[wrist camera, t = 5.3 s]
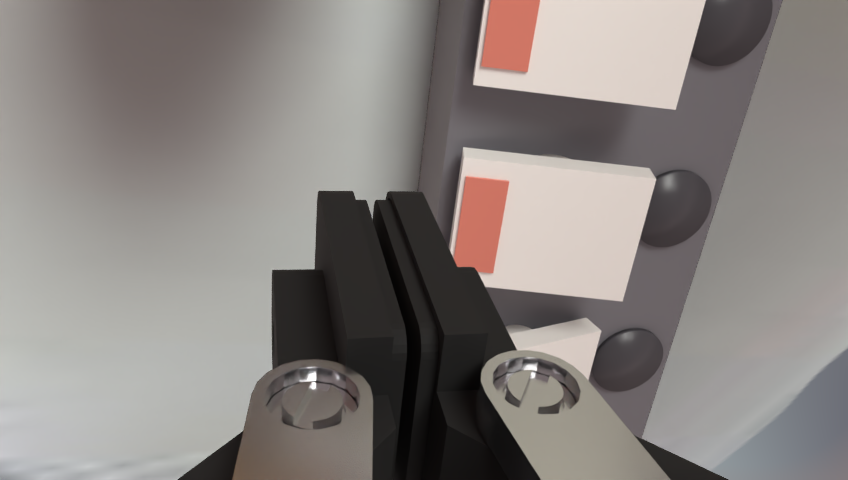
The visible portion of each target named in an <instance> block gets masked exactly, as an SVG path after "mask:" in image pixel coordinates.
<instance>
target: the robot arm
mask: <svg viewBox="0 0 848 480" xmlns="http://www.w3.org/2000/svg"><path fill="white" fill-rule="evenodd" d="M272 364H273V370H271V371H269V372H267V373H266V374H265V375H264V376H263V377H262V378H261V379H260V380H259V381H258V382H257V384H256V386H255V388H254V390H253V392H252V395H251V399H250V404H249V408H248V412H247V417H246V421H245V426H244V430H243V432H241V433H240V434H239V435H237V436H236V437H235V438H233V439H232V440H230V441H229V442H228V443H226V444H225V445H224V446H222V447H221V448H220V449H218V450H217V451H216V452H214V453H213V454H212V455H210V456H209V457H207V458H206V459H205V460H203V461H202V462H201V463H199V464H198V465H197V466H195V467H194V468H193V469H191V470H190V471H189V472H187V473H186V474H184V475H183V476H182V477H180V478H179V479H178V480H728V479H726V478H724V477H722V476H720V475H717V474H715V473H713V472H711V471H709V470H707V469H705V468H703V467H700V466H698V465H696V464H694V463H692V462H690V461H688V460H686V459H683V458H681V457H679V456H677V455H675V454H673V453H671V452H669V451H667V450H664V449H662V448H660V447H658V446H656V445H654V444H652V443H650V442H647V441H645V440H643V439H641V438H639V437H637V436H635V435H633V434H632V433H631V431H630V430H629V429H628V428H627V427H626V425H625V424H624V423H623V422H622V421H621V419H620V418H619V417H618V416H617V415H616V413H615V412H614V411H613V410H612V408H611V407H610V406H609V405H608V404H607V402H606V401H605V400H604V399H603V398H602V396H601V395H600V394H599V393H598V392H597V390H596V389H595V388H594V387H593V386H592V384H591V383H590V382H589V381H588V380H587V378H586V377H585V376H584V375H583V374H582V373H581V372H580V371H579V370H577V369H576V368H575V367H574V366H573V365H571V364H569V363H567V362H566V361H564V360H562V359H560V358H558V357H555V356H552V355H549V354H546V353H543V352H537V351H530V350H517V349H516V347H515V345H514V343H513V341H512V339H511V337H510V335H509V333H508V331H507V329H506V327H505V325H504V323H503V321H502V319H501V317H500V315H499V313H498V311H497V309H496V307H495V305H494V303H493V301H492V299H491V297H490V295H489V293H488V291H487V289H486V287H485V285H484V283H483V281H482V279H481V277H480V275H479V274H478V272H477V270H476V269H475V268H474V267H457V265H456V263H455V260H454V258H453V256H452V254H451V252H450V250H449V248H448V245H447V243H446V241H445V239H444V237H443V235H442V233H441V230H440V228H439V226H438V224H437V222H436V220H435V217H434V215H433V213H432V211H431V209H430V207H429V205H428V202H427V200H426V198H425V196H424V194H423V193H422V192H396V191H390V192H388V193H387V196H386V200H376V201H375V204H374V211H373V220H372V217H371V214H370V210H369V207H368V204H367V201H366V200H356V199H355V196H354V193H353V191H319V192H318V198H317V221H316V249H315V269H312V270H272Z"/></svg>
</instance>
